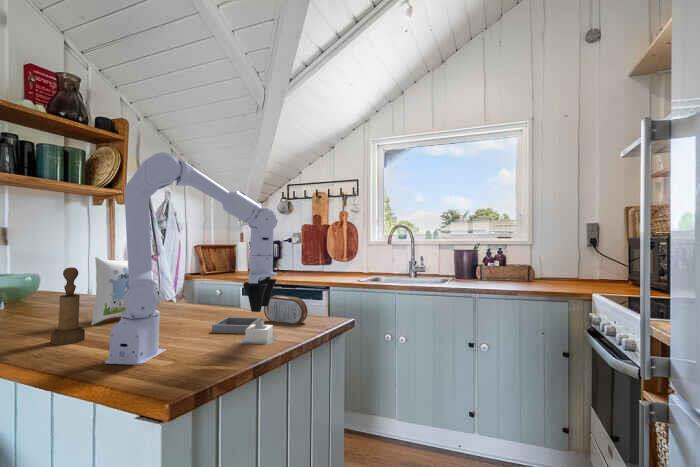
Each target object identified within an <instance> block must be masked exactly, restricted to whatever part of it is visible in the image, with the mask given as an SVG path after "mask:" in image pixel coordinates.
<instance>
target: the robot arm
mask: <svg viewBox="0 0 700 467" xmlns="http://www.w3.org/2000/svg"><path fill="white" fill-rule="evenodd" d="M174 181H176V183H175V186H176V187H177V186H181V187H182V186H189V187H192V188H194V189H196V190H198V191H200V193H203V194H205V195H206V196H209V197H211V198H212V199H214V200H215V201H217V202H220V203H221V206H222V208H223V209H222V210H223V211H224V212H226V213H228V214H230V215H231V216H233V217H235V218H237V219H238V220H239V221H240V222H241V221H242V222H243V223H245V224H247V225H248V227H249V228H250V243H249V245H250V246H249V272H248V281H247V282H246V281H245V282H243V283H242V285H243V288H244V290H245V293H246V295H247V297H248V302H249V308H250V310H251V311H250V312H252V313H260V312H261V311H262V307H264V306H268V305H269V302H270V297H272V293H273V289H274V287H275V284H276V283H277V278H273V277H276V276H278V272H273V270H274V268H273V266H274V264H273V263H274V229H275V228H276V227H277V225H278V222H279V220H278V219H277V216H276V214H275V212H274V211H273V210H272V209H270V208H266V207H265V208H264V207H263V208H262V206H263V203H260V202H255V201H254V200H253V199H251V198H249V197H248V196H246V195H247V193H246V192H245V191H243V190H241V191H238V190H232V191H231V190H230V191H229V190H228V189H226V188H224V187H223V186H222V185H221V184H219V183H217V182H215V181H214V180H212V179H211V178H210V177H208V176H207V175H205V174H203V173H202V172H201V171H199V170H198V169H197V168H195V167H194V166H192V165H190V164H189V163H187V162H186V161H184V160H182V159H178V158H177V157H176V156H174V155H173V154H171V153H169V152H161V151H160V152H156V153H155V154H152V155H151V156H150V157H148V158H147V159H144V161H142V163H141V164H140V166H139V167H138V169H137V170H136V171H135V173H133V175H132V176H131V178H130V179H129V180H128V182H127V183H126V185H125V186H124V192H123V194H124V212H125V213H124V214H125V230H126V232H125V233H126V250H127V251H126V253H127V260H128V274H129V286H128V289H127V290H126V292H125V308H126V310H125V311H124V312H122V315H120V316H121V317H120V319H119V322H117V323H115V324H114V325H113V326H112V328H111V330H110V333H109V347H108V349H109V351H108V352H109V353H108V359H106V360H104V364H108V365H139V366H141V365H145V362H148V361H149V360H151V359H152V358H154V357H156V356H158V355H160V354H162V353H163V352H165V351H167V349H166V348H159V347H160V346H159V344H160V320H161V319H160V318H161V317H160V315H161V314H160V313H161V311H159V310H158V307H159V305H160V301H161V300H160V295H159V293H158V292H157V290H156V288H155V285H154V284H155V283H154V274H153V261H152V259H153V258H152V242H151V241H152V239H151V222H150V221H151V220H150V204H149V203H150V201H149V200H150V197H152V196H153V195H154V194H156V192H158V190H160V189H163V188H167V187H168V186H170V185H172V184H173V183H174Z"/></svg>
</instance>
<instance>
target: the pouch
mask: <svg viewBox="0 0 700 467" xmlns="http://www.w3.org/2000/svg"><path fill="white" fill-rule="evenodd" d="M94 259H95V270H96V271H95V275H96V276H95V280H96V281H95V283H96V284H95V285H96V287H95V288H96V290H95V298H94V304H93V305H94V306H93V313H92V319H91V326H94V325H96V324H98V323H100V322H102V321H105V320H108V319H111V318H115V317H118V316H121V315H122V312H124V311H125V310H126V308H125V292H126V290H127V289H128V286H129V274H128V259H127V260H118V259H111V260H110V259H104V258H101V257H99V256H95V258H94Z"/></svg>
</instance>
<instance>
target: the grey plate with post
mask: <svg viewBox="0 0 700 467" xmlns="http://www.w3.org/2000/svg"><path fill="white" fill-rule="evenodd" d="M264 325H265V321H264V320H263V319H262V320H259V321H256V329H264ZM278 337H279V335H277V334H273V337H272V338H271V339H270V340H269V341H268V342H245V337H244V338H242V339H241V340H240V341H239V342H238V344H252V345H254V344H256V345H257V344H258V345H263V344H264V345H272V344H273V343H274V341H275V340H276V339H277V338H278Z"/></svg>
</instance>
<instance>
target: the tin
mask: <svg viewBox="0 0 700 467" xmlns="http://www.w3.org/2000/svg"><path fill="white" fill-rule="evenodd" d="M308 310H309V309H308V306H307V304H306V303H305V301H304V300H303V299H301V297H297V296H290V295H289V296H288V295H280V294H275V295H271V297H270V302H269V305H268V306H263V312H264V316H265V318H267V320H268V321H270V322H272V323H290V324H295V325H296V324H297V325H298V324H302V323H304V322H305V321H306V319H307V318H308V312H309V311H308Z"/></svg>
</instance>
